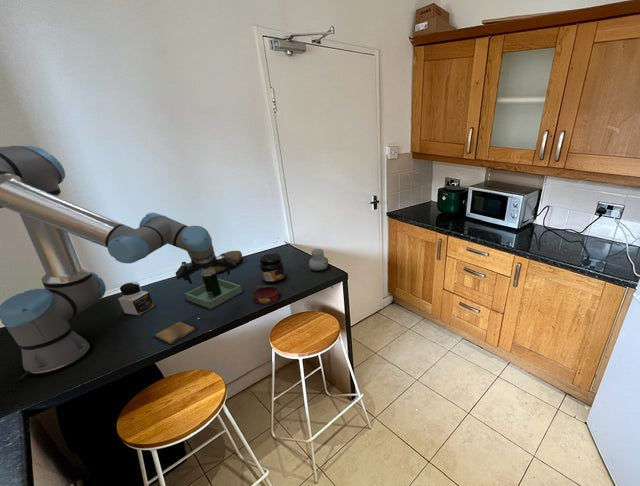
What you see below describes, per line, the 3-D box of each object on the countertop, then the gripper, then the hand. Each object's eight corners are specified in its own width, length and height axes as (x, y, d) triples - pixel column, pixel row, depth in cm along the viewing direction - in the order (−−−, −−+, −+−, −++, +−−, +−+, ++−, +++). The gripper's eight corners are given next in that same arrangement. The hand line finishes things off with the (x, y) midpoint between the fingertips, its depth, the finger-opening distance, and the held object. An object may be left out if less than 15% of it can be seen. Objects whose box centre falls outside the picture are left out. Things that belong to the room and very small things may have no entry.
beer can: (218, 298, 136) (211, 274, 131) (205, 298, 136) (198, 274, 131) (224, 292, 141) (217, 268, 136) (212, 292, 141) (204, 268, 136)
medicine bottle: (138, 315, 125) (127, 289, 120) (124, 313, 126) (112, 287, 121) (154, 306, 131) (144, 281, 126) (140, 304, 133) (130, 279, 127)
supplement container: (267, 286, 146) (262, 263, 141) (260, 278, 153) (255, 256, 148) (289, 280, 152) (285, 257, 147) (281, 272, 159) (277, 250, 154)
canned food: (256, 309, 137) (243, 291, 135) (274, 297, 145) (261, 279, 142) (269, 306, 130) (255, 286, 128) (287, 293, 138) (274, 274, 135)
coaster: (170, 344, 110) (169, 341, 109) (155, 336, 113) (154, 334, 113) (195, 329, 117) (194, 327, 117) (180, 323, 121) (179, 321, 120)
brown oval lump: (217, 278, 156) (251, 257, 169) (209, 265, 152) (244, 245, 165) (206, 275, 164) (239, 255, 177) (198, 263, 160) (232, 243, 173)
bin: (210, 309, 130) (208, 302, 128) (187, 300, 136) (184, 293, 134) (242, 291, 142) (240, 285, 141) (219, 284, 148) (217, 278, 147)
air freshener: (325, 273, 159) (322, 255, 154) (308, 273, 159) (306, 255, 154) (329, 264, 169) (327, 246, 164) (314, 263, 169) (312, 246, 164)
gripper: (161, 273, 102) (175, 293, 120) (243, 256, 115) (245, 276, 132) (156, 253, 104) (170, 276, 122) (238, 238, 116) (240, 260, 134)
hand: (209, 276), depth 127 cm, fingers open, 13 cm apart
